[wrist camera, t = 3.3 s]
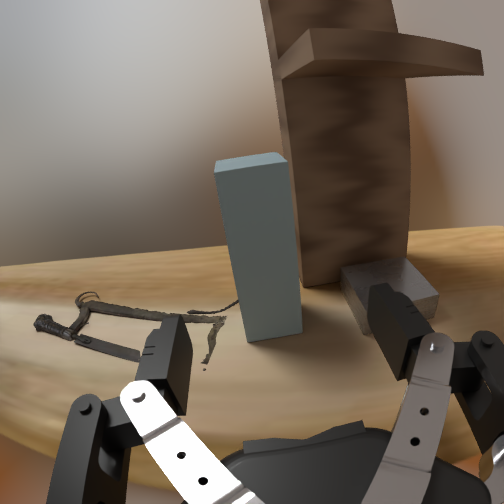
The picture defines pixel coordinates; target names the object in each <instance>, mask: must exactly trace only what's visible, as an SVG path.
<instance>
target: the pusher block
mask: <svg viewBox="0 0 504 504" xmlns="http://www.w3.org/2000/svg"><path fill="white" fill-rule="evenodd" d="M214 175H215V181H216V186H217V191H218V197H219V202H220V208H221V213H222V218H223V224H224V229H225V234H226V239H227V244H228V250H229V255H230V260H231V265H232V270H233V275H234V280H235V285H236V290H237V295H238V300H239V305H240V309H241V314H242V319H243V324H244V329H245V333H246V338H247V342H253V341H259V340H265V339H271V338H277V337H283V336H288V335H294V334H299V333H303V328H302V312H301V297H300V283H299V270H298V258H297V246H296V235H295V224H294V214H293V204H292V194H291V185H290V176H289V167H288V161H287V160H286V159H284V158H283V157H282V156H281V155H279V154H278V153H277V152H272V153H265V154H258V155H251V156H245V157H238V158H232V159H226V160H220V161H216V165H215V171H214Z"/></svg>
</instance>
